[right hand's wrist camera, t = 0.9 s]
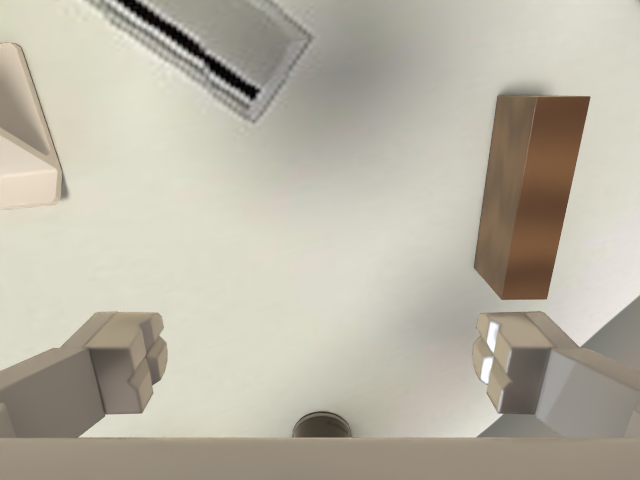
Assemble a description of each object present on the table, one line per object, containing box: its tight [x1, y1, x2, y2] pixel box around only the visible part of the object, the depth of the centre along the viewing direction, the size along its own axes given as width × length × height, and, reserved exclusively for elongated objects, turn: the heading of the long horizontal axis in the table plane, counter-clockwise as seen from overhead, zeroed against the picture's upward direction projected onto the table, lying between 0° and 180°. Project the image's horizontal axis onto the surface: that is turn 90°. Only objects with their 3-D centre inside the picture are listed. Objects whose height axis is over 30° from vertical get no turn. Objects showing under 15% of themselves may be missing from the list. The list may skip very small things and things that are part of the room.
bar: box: [474, 95, 590, 300], centre depth 46 cm, size 22×5×9 cm, turn 1°
